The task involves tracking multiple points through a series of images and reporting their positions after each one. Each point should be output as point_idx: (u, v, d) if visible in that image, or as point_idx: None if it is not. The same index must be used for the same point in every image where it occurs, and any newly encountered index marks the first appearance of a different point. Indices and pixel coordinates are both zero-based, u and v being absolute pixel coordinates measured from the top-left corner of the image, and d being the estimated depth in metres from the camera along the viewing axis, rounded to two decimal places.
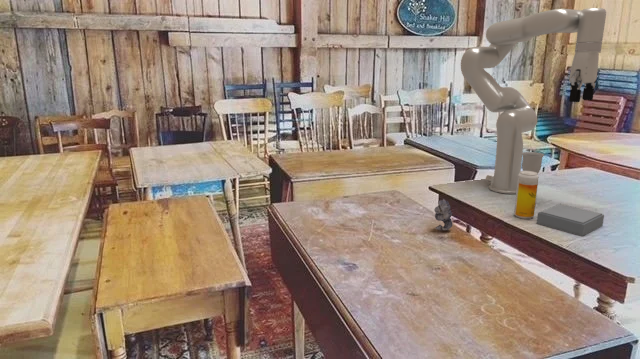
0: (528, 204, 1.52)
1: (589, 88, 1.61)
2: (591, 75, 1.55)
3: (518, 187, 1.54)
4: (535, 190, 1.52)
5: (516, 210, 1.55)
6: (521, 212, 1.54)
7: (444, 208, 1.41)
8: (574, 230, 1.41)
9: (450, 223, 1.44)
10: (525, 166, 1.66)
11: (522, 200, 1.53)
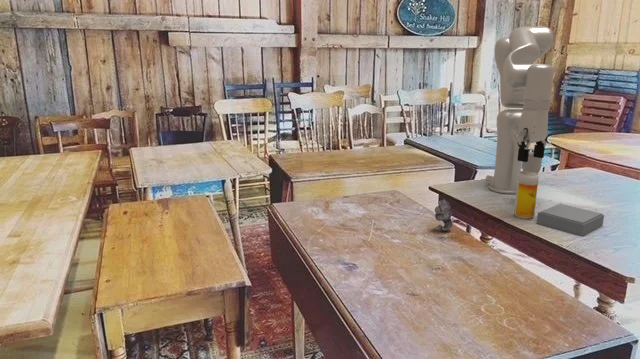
0: (528, 204, 1.52)
1: (540, 145, 1.53)
2: (540, 134, 1.47)
3: (518, 187, 1.54)
4: (535, 190, 1.52)
5: (516, 210, 1.55)
6: (521, 212, 1.54)
7: (444, 208, 1.41)
8: (574, 230, 1.41)
9: (450, 223, 1.44)
10: (525, 166, 1.66)
11: (522, 200, 1.53)
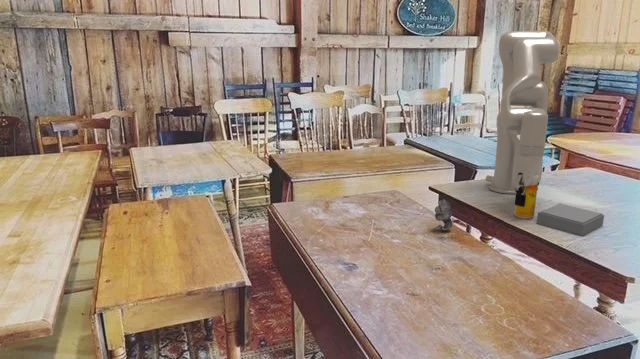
0: (528, 204, 1.52)
1: None
2: None
3: None
4: (535, 190, 1.52)
5: (516, 210, 1.55)
6: (521, 212, 1.54)
7: (444, 208, 1.41)
8: (574, 230, 1.41)
9: (450, 223, 1.44)
10: None
11: None
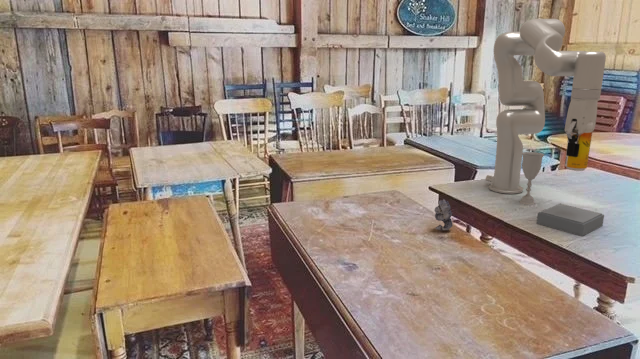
0: (581, 154, 1.40)
1: None
2: None
3: None
4: (589, 139, 1.40)
5: (567, 161, 1.43)
6: (573, 164, 1.42)
7: (444, 208, 1.41)
8: (574, 230, 1.41)
9: (450, 223, 1.44)
10: (525, 166, 1.66)
11: None
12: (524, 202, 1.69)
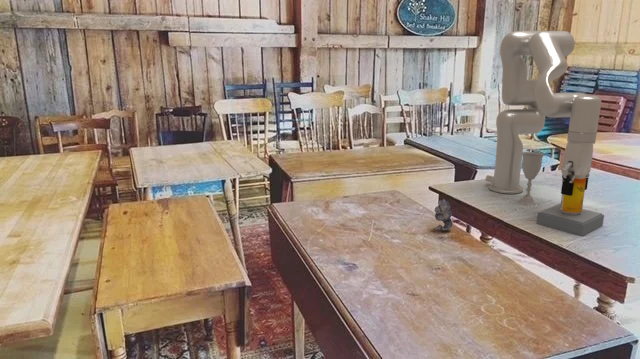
0: (576, 198, 1.44)
1: None
2: (585, 167, 1.42)
3: None
4: (584, 184, 1.43)
5: (563, 205, 1.47)
6: (568, 208, 1.46)
7: (444, 208, 1.41)
8: (574, 230, 1.41)
9: (450, 223, 1.44)
10: (525, 166, 1.66)
11: None
12: (524, 202, 1.69)
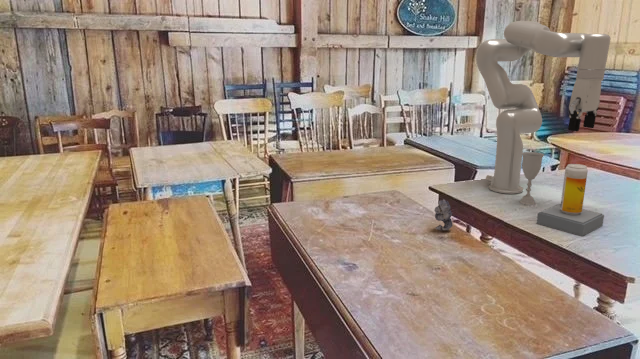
0: (576, 199, 1.44)
1: (590, 115, 1.54)
2: (593, 104, 1.48)
3: (565, 181, 1.45)
4: (584, 184, 1.43)
5: (563, 205, 1.47)
6: (568, 208, 1.46)
7: (444, 208, 1.41)
8: (574, 230, 1.41)
9: (450, 223, 1.44)
10: (525, 166, 1.66)
11: (570, 194, 1.44)
12: (524, 202, 1.69)
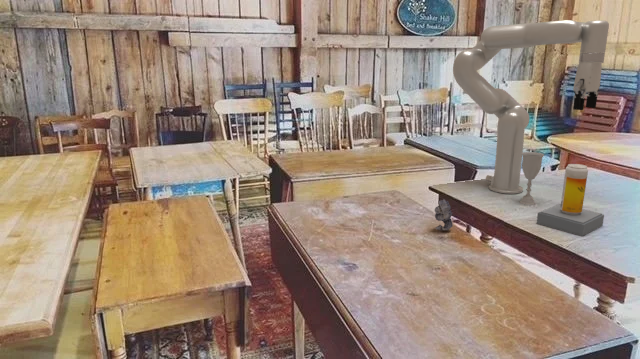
0: (576, 199, 1.44)
1: (592, 96, 1.68)
2: (595, 85, 1.62)
3: (566, 181, 1.45)
4: (584, 184, 1.43)
5: (563, 205, 1.47)
6: (568, 208, 1.46)
7: (444, 208, 1.41)
8: (574, 230, 1.41)
9: (450, 223, 1.44)
10: (525, 166, 1.66)
11: (570, 194, 1.44)
12: (524, 202, 1.69)
